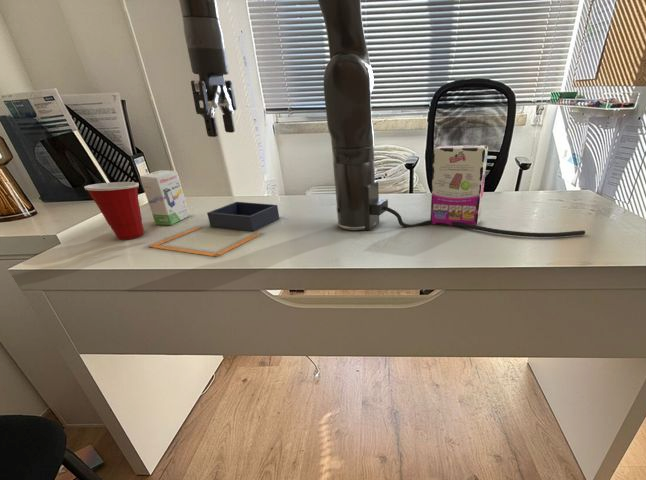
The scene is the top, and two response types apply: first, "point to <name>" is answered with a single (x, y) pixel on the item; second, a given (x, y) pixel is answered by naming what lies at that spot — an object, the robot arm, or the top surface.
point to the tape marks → (198, 251)
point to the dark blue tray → (243, 216)
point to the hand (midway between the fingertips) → (221, 134)
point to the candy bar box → (458, 184)
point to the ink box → (165, 197)
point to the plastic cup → (119, 207)
